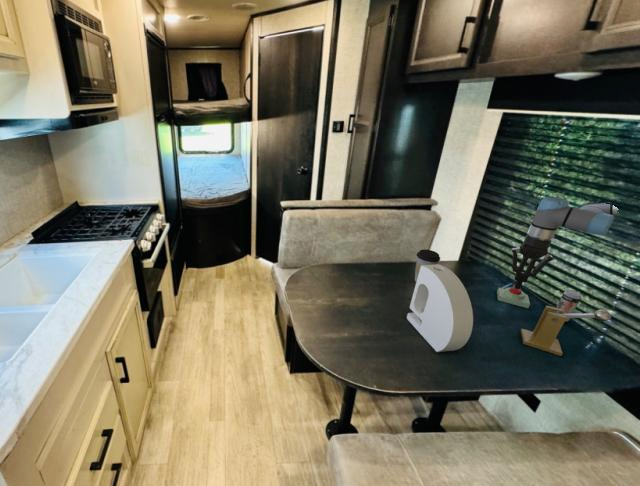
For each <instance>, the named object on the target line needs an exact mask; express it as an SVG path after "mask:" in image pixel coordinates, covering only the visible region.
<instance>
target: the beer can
mask: <svg viewBox="0 0 640 486" xmlns="http://www.w3.org/2000/svg"><path fill="white" fill-rule="evenodd" d="M581 300H582V296H581V293H579V292H577V291H574V290H572V289H567V290H565V291H563V293H562V295H561V297H560V299H559V301H558V302H557V305H556V307H555V308H557V309H561V310H564V312H563V314H574V313H575V311H576V308H577V307H578V305H579V304H580V301H581ZM570 320H571V318H566V320H565V322H569V321H570Z"/></svg>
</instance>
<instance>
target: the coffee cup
mask: <svg viewBox="0 0 640 486" xmlns="http://www.w3.org/2000/svg"><path fill="white" fill-rule="evenodd" d="M416 257H417V259H416V263H415V273H414V282H415V283H416V282H417V278H418V275H419V271H420V267H421V265H436V264H439V263H438V262H440V261H441V256H440V254H439V253H438V252H437V251H434V250H432V249H425V248H424V249H423V248H422V249H420V250H419V251H417V253H416Z"/></svg>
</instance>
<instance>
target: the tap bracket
mask: <svg viewBox="0 0 640 486" xmlns="http://www.w3.org/2000/svg"><path fill="white" fill-rule="evenodd" d="M547 311H559V314H563V312H564V310H561V309H557V308H556V307H553V306H549V305H545V307H544V309H543V311H542V313H541V315H540V317H539V319H538V321H537V323H536V326H535V327H534V329H533V331H531V330H529V329H525V328H521V329H520V335H521V341H522V344H523V345H525V346H528V347H531V348H534V349H538V350H541V351H545V352H547V353H551V354H554V355H556V356H560V357H562V356H563V354H564V353H563V350H562V347H561V344H560V341H559V339H558V338H557V337H558V335H559V333H560V331H561V329H562V327H563V325H564V323H565V322H566V321H565V320H566V316H563V315H559V314H555V313H552V312H548V313H547Z"/></svg>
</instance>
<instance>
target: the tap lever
mask: <svg viewBox="0 0 640 486" xmlns="http://www.w3.org/2000/svg"><path fill="white" fill-rule="evenodd" d="M548 312H552V313H555V314H559V311H547V313H548ZM559 315H563V316H566V318H570V319H596V320H598V321H600V322H608V321H610V320H612V314H611V313H610V312H609V311H607V310H605V309H597V310H595V311H594V313H593V312H592V313H590V312H589V313H588V312H587V313H573V314H559Z"/></svg>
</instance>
